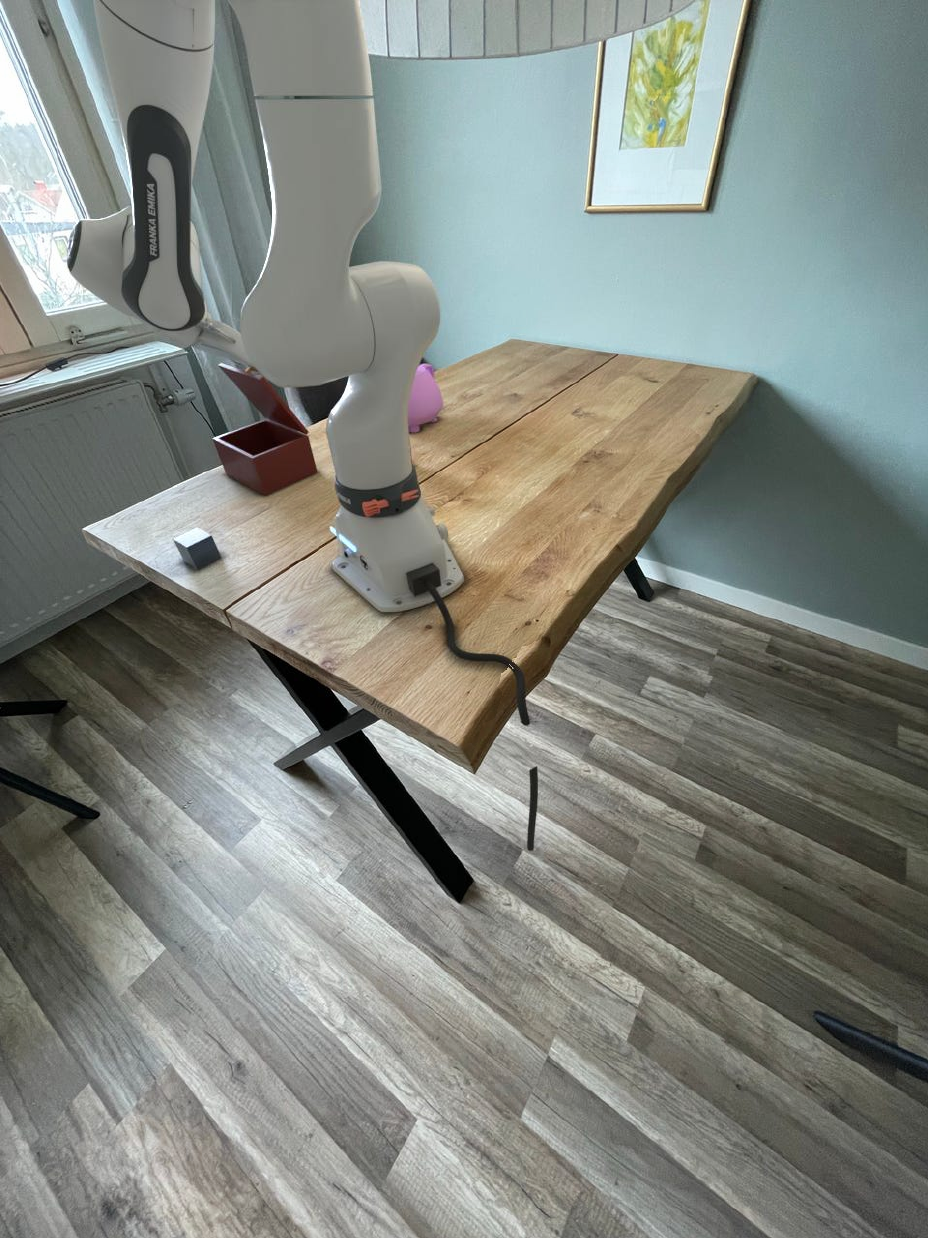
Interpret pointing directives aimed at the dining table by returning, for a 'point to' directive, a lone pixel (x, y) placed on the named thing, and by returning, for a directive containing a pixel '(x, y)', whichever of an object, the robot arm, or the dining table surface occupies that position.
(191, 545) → the block
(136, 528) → the dining table surface
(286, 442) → the red hinged box
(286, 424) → the cover
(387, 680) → the dining table surface
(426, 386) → the pink piggy bank
